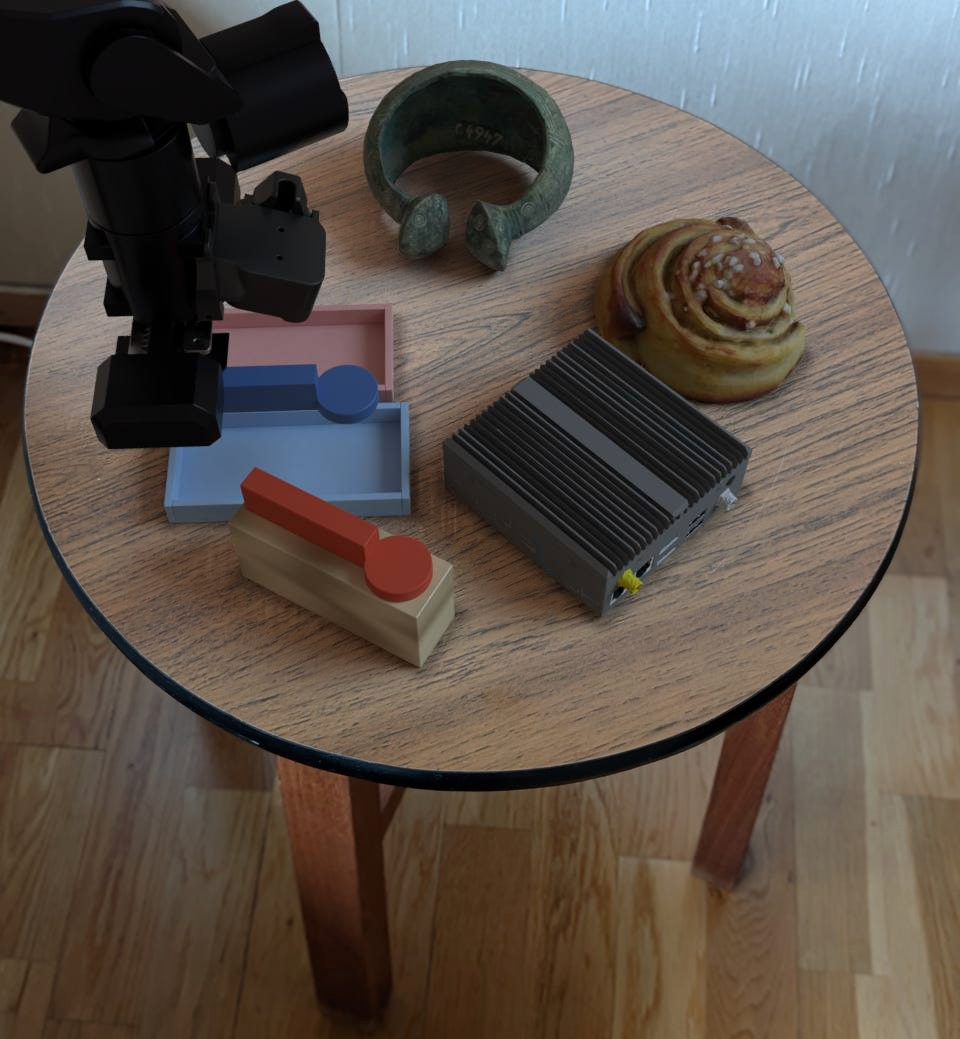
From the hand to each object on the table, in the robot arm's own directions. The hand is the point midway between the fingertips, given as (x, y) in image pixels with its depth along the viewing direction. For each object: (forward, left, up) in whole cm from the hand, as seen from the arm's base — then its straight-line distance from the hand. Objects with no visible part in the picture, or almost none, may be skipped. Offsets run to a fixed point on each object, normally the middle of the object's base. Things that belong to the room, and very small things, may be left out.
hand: (198, 393), depth 78 cm
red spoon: (+8, -9, -2) cm, 13 cm away
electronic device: (+24, -2, -8) cm, 25 cm away
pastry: (+32, +11, -8) cm, 35 cm away
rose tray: (+4, +9, -8) cm, 12 cm away
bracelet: (+17, +23, -8) cm, 29 cm away
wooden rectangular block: (+8, -9, -8) cm, 15 cm away
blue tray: (+5, 0, -8) cm, 9 cm away
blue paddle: (+5, 0, -1) cm, 5 cm away
